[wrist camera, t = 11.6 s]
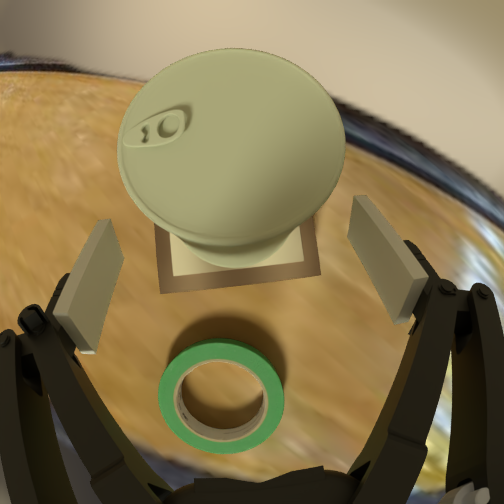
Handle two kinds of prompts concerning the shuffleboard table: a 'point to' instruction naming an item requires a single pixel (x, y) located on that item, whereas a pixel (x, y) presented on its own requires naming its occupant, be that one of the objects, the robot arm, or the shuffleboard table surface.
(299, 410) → the shuffleboard table surface
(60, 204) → the shuffleboard table surface
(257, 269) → the plinth
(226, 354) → the tape roll
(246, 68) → the can
